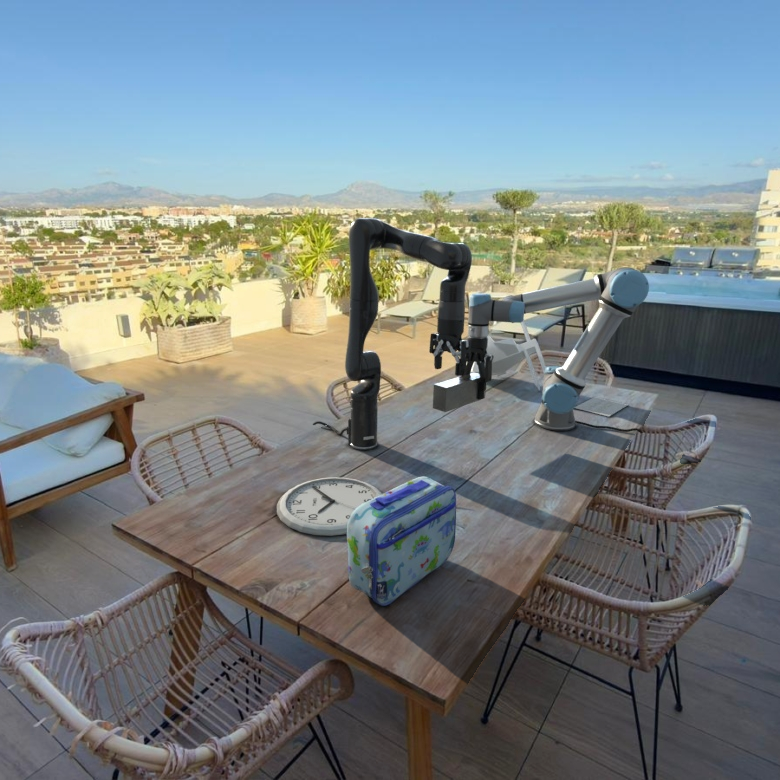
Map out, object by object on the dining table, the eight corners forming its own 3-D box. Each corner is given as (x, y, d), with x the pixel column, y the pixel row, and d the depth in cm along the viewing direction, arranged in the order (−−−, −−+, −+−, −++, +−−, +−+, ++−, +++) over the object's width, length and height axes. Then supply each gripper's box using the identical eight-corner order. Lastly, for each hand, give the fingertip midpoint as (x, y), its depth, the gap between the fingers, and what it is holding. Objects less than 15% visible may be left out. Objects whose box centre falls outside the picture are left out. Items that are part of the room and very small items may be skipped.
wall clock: (392, 527, 129) (268, 531, 127) (391, 533, 130) (269, 537, 127) (383, 473, 158) (282, 475, 155) (383, 478, 158) (282, 480, 156)
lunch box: (376, 619, 101) (377, 524, 95) (340, 592, 109) (339, 502, 102) (459, 562, 119) (465, 479, 113) (424, 542, 126) (427, 463, 120)
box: (472, 394, 202) (474, 372, 199) (485, 398, 198) (486, 375, 195) (432, 408, 186) (433, 384, 183) (445, 412, 182) (446, 387, 179)
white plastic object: (486, 419, 265) (465, 396, 240) (467, 347, 287) (447, 319, 262) (557, 395, 253) (543, 369, 228) (532, 321, 275) (517, 290, 250)
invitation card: (608, 416, 214) (573, 407, 224) (608, 416, 214) (573, 408, 224) (628, 404, 229) (594, 396, 238) (628, 405, 229) (594, 397, 238)
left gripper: (424, 314, 150) (422, 368, 155) (459, 321, 140) (456, 379, 145) (443, 312, 155) (440, 365, 160) (479, 319, 144) (475, 375, 149)
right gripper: (450, 333, 194) (448, 393, 201) (493, 342, 182) (488, 405, 189) (463, 331, 199) (460, 389, 206) (505, 339, 187) (500, 400, 194)
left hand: (448, 372), depth 152 cm, fingers open, 8 cm apart
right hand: (473, 396), depth 197 cm, fingers closed on box, 6 cm apart
